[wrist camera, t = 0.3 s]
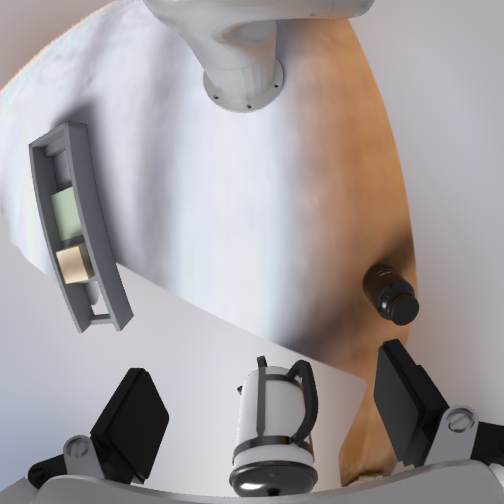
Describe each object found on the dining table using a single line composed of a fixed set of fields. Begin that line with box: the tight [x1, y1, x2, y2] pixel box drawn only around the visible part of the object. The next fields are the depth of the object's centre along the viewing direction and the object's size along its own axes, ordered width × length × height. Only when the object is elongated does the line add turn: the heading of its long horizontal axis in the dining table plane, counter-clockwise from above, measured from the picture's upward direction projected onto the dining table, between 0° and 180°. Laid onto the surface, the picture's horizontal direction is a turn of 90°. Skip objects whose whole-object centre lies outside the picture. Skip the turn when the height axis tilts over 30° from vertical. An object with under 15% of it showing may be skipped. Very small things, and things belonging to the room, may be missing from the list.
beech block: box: [56, 242, 95, 284], centre depth 43 cm, size 6×6×4 cm
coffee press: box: [229, 356, 318, 497], centre depth 39 cm, size 17×16×30 cm
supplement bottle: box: [363, 265, 419, 326], centre depth 41 cm, size 7×7×12 cm
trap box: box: [29, 121, 134, 333], centre depth 43 cm, size 38×11×6 cm, turn 11°
